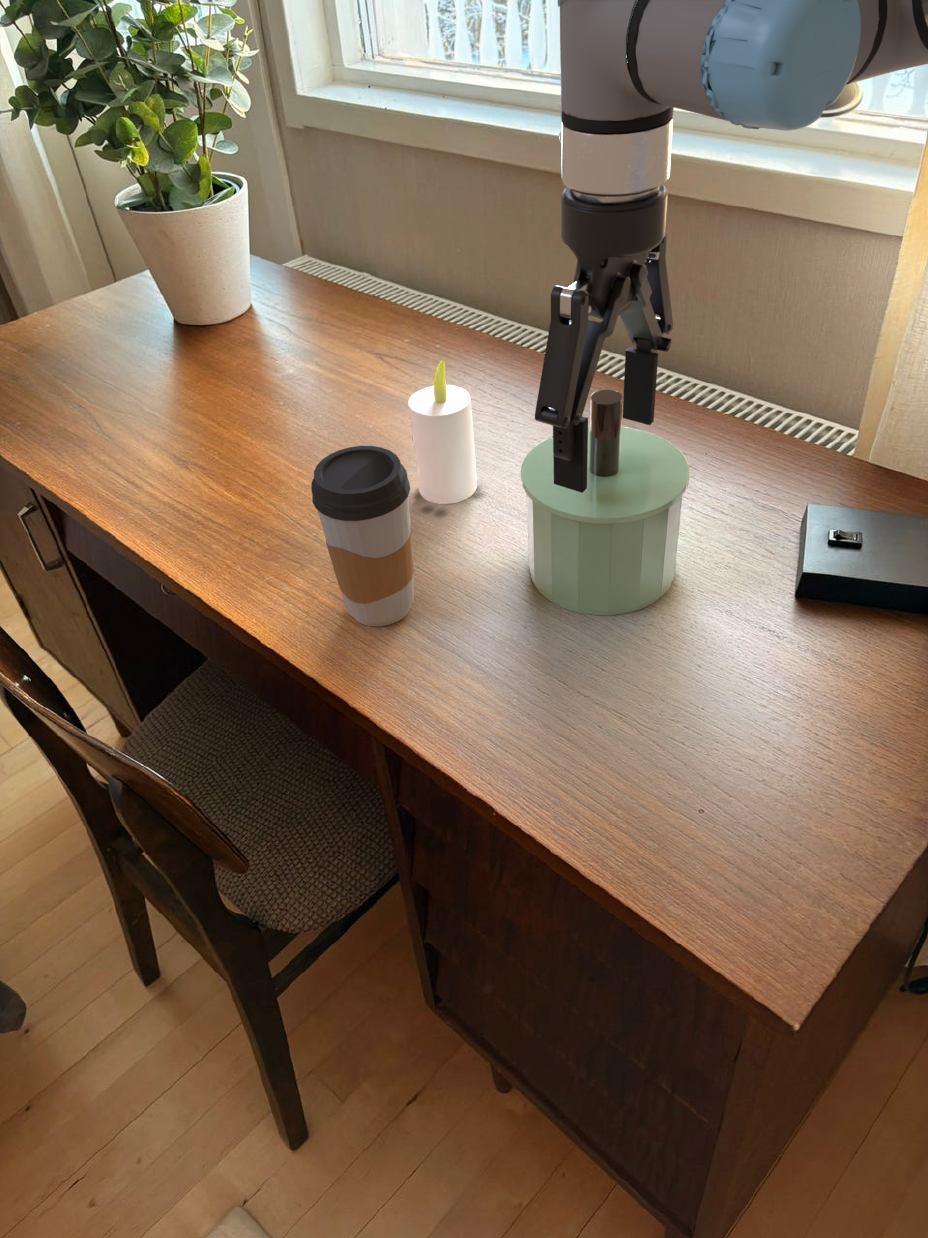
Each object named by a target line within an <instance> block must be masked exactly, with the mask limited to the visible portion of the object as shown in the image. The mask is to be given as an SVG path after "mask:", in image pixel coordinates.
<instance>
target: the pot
mask: <svg viewBox="0 0 928 1238" xmlns="http://www.w3.org/2000/svg"><path fill="white" fill-rule="evenodd" d="M525 497H526V498H525V500H526V527H527V529H526V530H527V531H526V532H527V554H528V555H527V557H528V559H527V562H528V569H529V574H530V577H531V581H532V583H533V585H534V587H535V588H536V590H537V591H538V592H539V593H540V594H541V595H542V596H543V597H544V598H546V599H547V600H548V601H550V602H551V603H553V604H555V605H556V606H558V607H561V608H563V609H565V610H567V611H571V612H574V613H579V614H584V615H591V616H617V615H624V614H629V613H633V612H635V611H639V610H642V609H644V608H646V607H649V606H650V605H652V604H653V603H655V602H657V601H658V600H660V599H661V598H662V597H663V596H664V595H665V594H666V593H667V592H668V590H669V589H670V587H671V586H672V584H673V581H674V579H675V572H676V563H677V554H678V553H677V552H678V544H679V534H680V533H679V532H680V522H681V512H682V502H683V496H682V497H681V498H680V499H679V500H678V501H677V502H676V503H674V504H673V505H672V506H670V507H669V508H667V509H666V510H664V511H662V512H660V513H658V514H655V515H653V516H650V517H647V518H644V519H640V520H636V521H631V522H624V523H612V524H597V523H586V522H580V521H574V520H570V519H567V518H563V517H560V516H558V515H555V514H552V513H550V512H548V511H546V510H544V509H543V508H541V507H540V506H538V505H537V504H536V503H535V502H533V501H532V500H531V499H530V497H529V496H528V495H527V494H526V493H525Z"/></svg>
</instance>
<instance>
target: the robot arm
mask: <svg viewBox="0 0 928 1238" xmlns="http://www.w3.org/2000/svg"><path fill="white" fill-rule="evenodd" d="M635 3H636V0H557V7H558V8H559V58H560V60H559V61H560V62H559V65H560V67H559V68H560V71H559V73H560V121H561V130H560V132H559V133H558V134H559V135H558V137H559V141H560V143H561V182H562V183H563V185H564V186H565V188H564V190H563V191H562V192H561V194H560V238H561V241H562V244H563V245H564V246H565V247H566V248H567V249H569V250H570V251H571V253H573V255H574V257H575V258H576V267H575V273H574V277H573V282H572V283H571V284H570V285H569V286H568V287H566V286H561V285H554V287H552V290H551V293H550V322H549V327H548V334H547V341H546V345H545V346H546V347H545V352H544V358H543V362H542V363H543V364H542V368H541V369H542V370H541V376H540V382H539V386H538V393H537V394H538V395H537V400H536V406H535V411H534V420H535V421H536V422H540V423H543V424H546V425H549V426H552V436H553V453H554V484H556V485H559V486H562V487H565V488H568V489H572V490H575V491H578V492H581V493H583V492H584V491H585V490H586V489H587V458H588V427H589V417H586V416H583V414H584V411H585V408H586V406H587V405H586V404H587V402H588V397H589V394H590V391H591V387H592V385H593V381H594V378H595V374H596V370H597V367H598V364H599V360H600V357H601V353H602V350H603V348H604V343H605V340H606V339H607V338H609V337H611V336H612V335H613V333H614V331H615V327H616V325H617V321H618V318H619V316H620V319H621V322H622V324H623V327H624V329H625V331H626V334H627V336H628V339H629V341H630V343H631V345H633V346H635V347H631V346H630V347H628V348H627V349H626V350H625V353H624V354H625V355H624V377H623V396H622V397H623V398H622V419H625V420H629V421H632V422H636V423H640V424H644V425H647V426H651V425H652V424H653V423H654V421H655V408H656V407H655V406H656V394H657V379H658V378H657V377H658V366H659V365H658V363H659V353H658V351H659V352H664V353H668V352H669V351H670V349H671V346H672V338H670V337H665V336H664V335H667V336H668V335H670V334H671V332H672V331H673V329H674V320H673V311H672V303H671V295H670V294H671V293H670V286H669V276H668V268H667V259H666V256H667V240H668V239H667V238H668V233H667V231H666V225H667V208H668V196H669V195H668V194H669V191H668V189H667V188H666V187H665V185H664V184H665V183H666V182H667V181H668V180H669V178H670V177H671V162H672V161H671V159H672V142H673V126H674V125H673V123H674V118H673V116H674V109H678V110H683V111H686V112H690V113H694V114H699V115H702V116H706V117H710V118H715V119H718V120H722V121H726V122H729V123H731V124H732V125H734V126H741V127H742V128H744V129H747V130H750V129H751V130H760V129H766V130H767V129H768V130H777V131H786V132H789V131H791V132H792V131H798V130H801V129H803V128H806V127H808V126H810V125H812V124H814V123H816V121H818V120H820V118H821V117H822V115H823V113H824V111H825V110H826V108H828V107H829V106H831V105H833V104H835V103H836V102H837V100H838V99H839V97H840V96H841V94H842V93H843V91H844V90H845V87H846V86H847V85H850V84H854V83H857V82H861V81H865V80H868V79H872V78H876V77H878V76H882V75H886V74H889V73H893V72H898V71H902V70H907V69H911V68H917V67H920V66H925V65H928V0H638V2H637V4H636V7H635V9H634V13H633V16H632V19H631V23H630V27H629V33H628V43H627V58H626V41H627V32H628V25H629V21H630V17H631V14H632V11H633V8H634V5H635ZM627 59H628V63H627ZM657 316H659V317H657ZM589 318H591V319H595V320H599V321H594V320H589Z"/></svg>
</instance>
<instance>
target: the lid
mask: <svg viewBox="0 0 928 1238" xmlns="http://www.w3.org/2000/svg"><path fill="white" fill-rule="evenodd" d="M623 397H624V396H623V394H622V393H621V392H619V391H618V390H615V389H611V388H609V389H607V388H605V389H599V390H596V391H594V392H592V393H591V395H590V408H589V409H590V411H589V412H590V414H589V426H588V458H587V489H586V490H585V491H584V492H583V493H581V492H578V491H575V490H572V489H568V488H565V487H562V486H559V485H556V484H554V453H553V435H551V436H550V437H547V438H546V439H544V440H542V441H540V442H539V443H538V444H536V445H535V446H534V447H533V448H532V449H530V450H529V452H527V454H526V456H525V457H524V459H523V461H522V463H521V465H520V466H521V467H520V481H521V486H522V488H523V491H524V492H525V495H526V494H527V495H528V496H529V497H530V499H531V500H532V501H533V502H535V503H536V504H537V505H538V506H540V507H541V508H543V509H544V510H546V511H548V512H550V513H552V514H555V515H558V516H560V517H563V518H567V519H570V520H574V521H580V522H586V523H597V524H612V523H624V522H631V521H636V520H640V519H644V518H647V517H650V516H653V515H655V514H658V513H660V512H662V511H664V510H666V509H667V508H669V507H670V506H672V505H673V504H674V503H676V502H677V501H678V500H679V499H680V498H681V497H682V498H683V495H684V494H685V492H686V490H687V488H688V486H689V483H690V475H691V473H690V471H691V470H690V466H689V461H688V460H687V458H686V457H685V455H684V454H683V452H682V451H681V450H680V449H679V448H678V447H677V446H675V445H674V444H673V443H671V442H670V441H668V440H666V438H664V437H661V436H659V435H656V434H654V433H651V432H648V431H645V430H642V429H638V428H633V427H626V426H622V419H623Z"/></svg>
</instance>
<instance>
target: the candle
mask: <svg viewBox="0 0 928 1238" xmlns="http://www.w3.org/2000/svg"><path fill="white" fill-rule="evenodd" d="M446 381H447V380H446V364H445V361H444V359H442V360H440V361H439V363H437V367H436V369H435V372H434V378H433V385H430V386H426V387H422V388H420V389H418V390H416V391H415V392H414V393H412V394H411V395H410V397H409V398H408V402H407V404H408V411H409V420H410V428H411V439H412V444H413V451H414V452H413V453H414V459H415V467H416V475H417V483H418V490H419V494H420V496H421V498H423V499H424V500H425V501H428V502H430V503H432V504H440V505H451V504H456V503H460V502H464V501H466V500H468V499H469V498H470V497H472V496H473V495H474V494H475V492H476V491H477V490H478V489H477V488H478V476H477V464H476V463H477V462H476V452H475V450H476V449H475V438H474V437H475V436H474V426H473V425H474V424H473V423H474V422H473V411H472V399H471V394H470V393H469V392H468V390H467V389H465V388H463V387H460V386H457V385H453V384H447V382H446Z"/></svg>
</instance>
